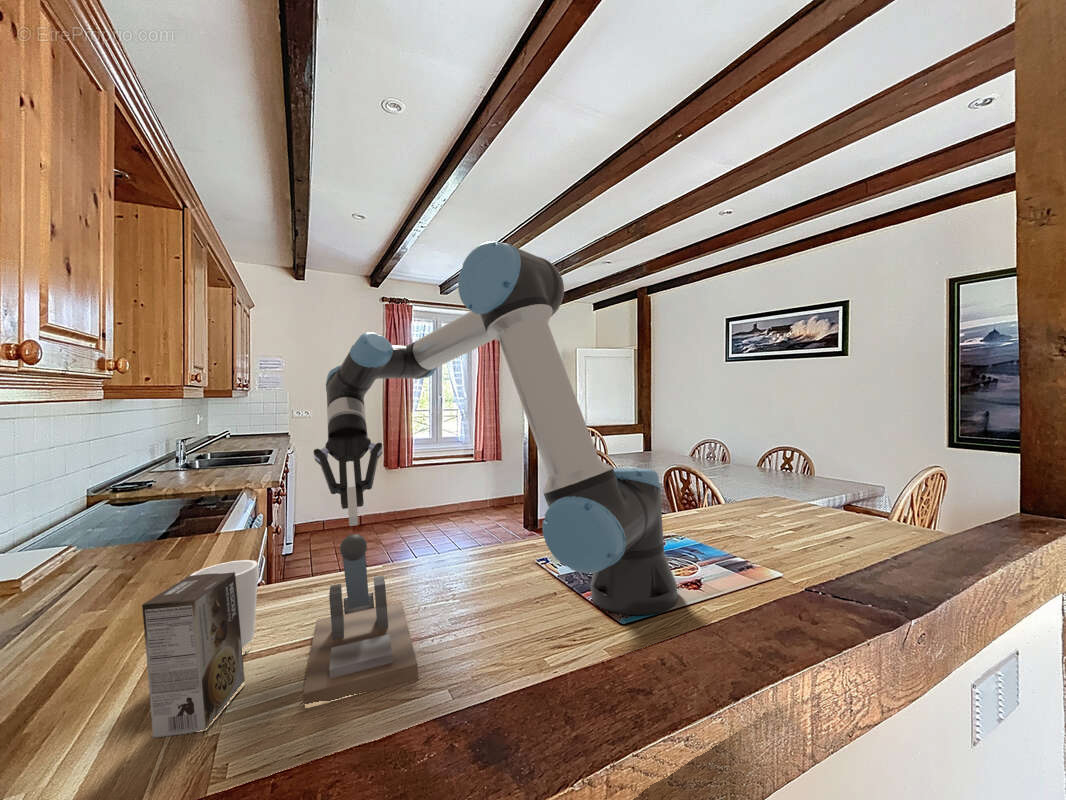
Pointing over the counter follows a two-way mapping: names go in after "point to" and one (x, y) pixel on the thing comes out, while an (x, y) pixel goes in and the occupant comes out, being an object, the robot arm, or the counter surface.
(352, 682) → the press base
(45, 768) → the counter surface
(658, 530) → the robot arm
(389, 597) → the counter surface
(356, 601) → the lever
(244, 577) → the foam cup
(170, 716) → the coffee box
